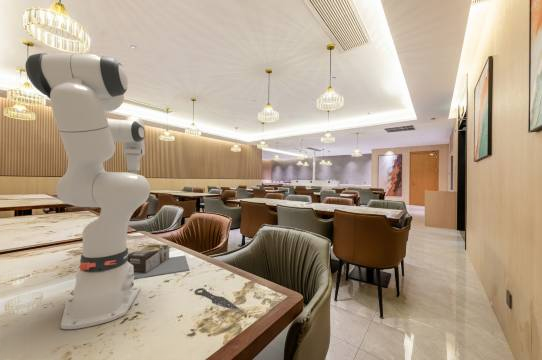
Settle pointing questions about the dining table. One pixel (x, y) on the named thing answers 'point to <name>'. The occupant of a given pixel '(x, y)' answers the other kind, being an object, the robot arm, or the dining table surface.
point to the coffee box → (148, 257)
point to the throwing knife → (217, 299)
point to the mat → (166, 267)
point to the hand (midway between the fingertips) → (134, 180)
